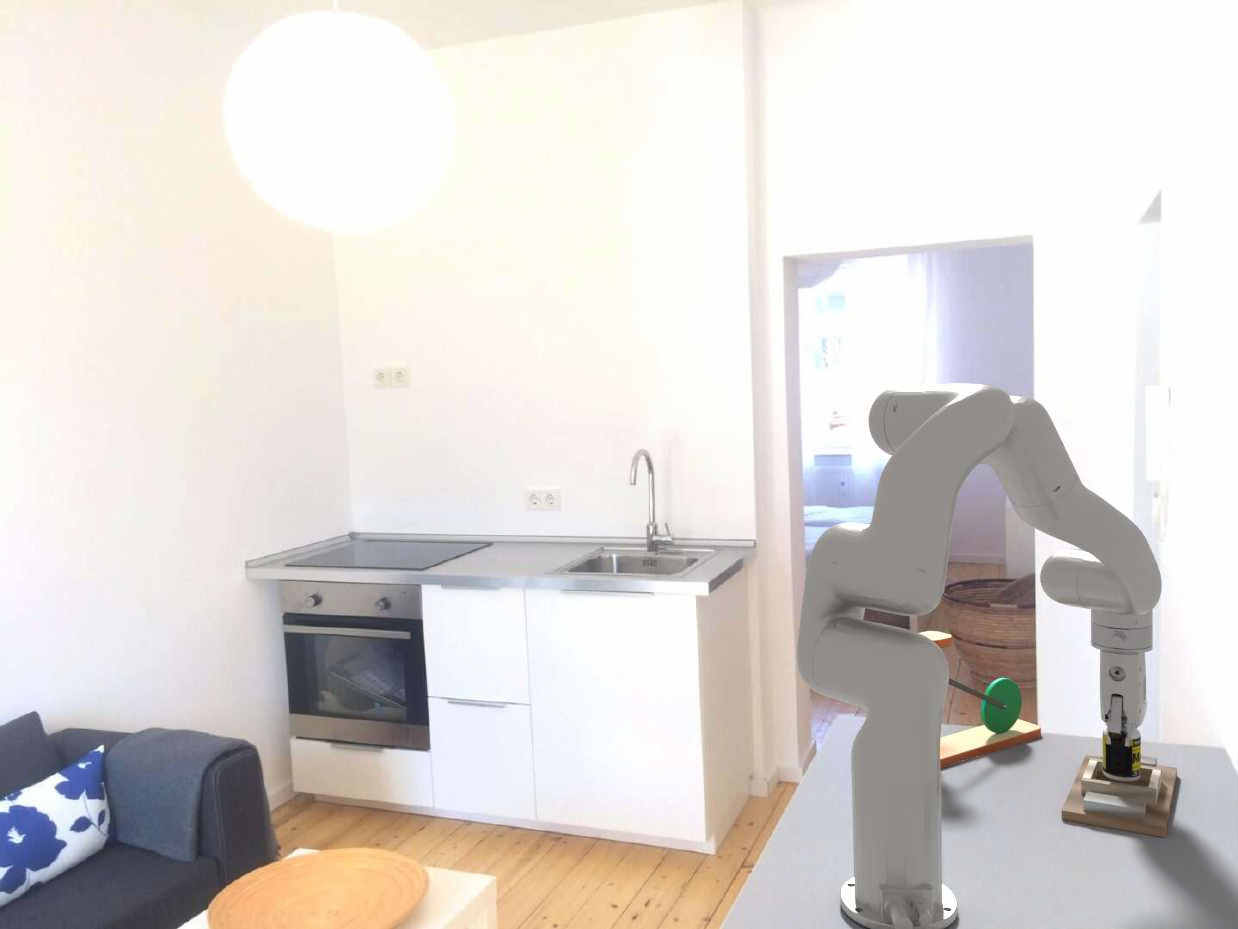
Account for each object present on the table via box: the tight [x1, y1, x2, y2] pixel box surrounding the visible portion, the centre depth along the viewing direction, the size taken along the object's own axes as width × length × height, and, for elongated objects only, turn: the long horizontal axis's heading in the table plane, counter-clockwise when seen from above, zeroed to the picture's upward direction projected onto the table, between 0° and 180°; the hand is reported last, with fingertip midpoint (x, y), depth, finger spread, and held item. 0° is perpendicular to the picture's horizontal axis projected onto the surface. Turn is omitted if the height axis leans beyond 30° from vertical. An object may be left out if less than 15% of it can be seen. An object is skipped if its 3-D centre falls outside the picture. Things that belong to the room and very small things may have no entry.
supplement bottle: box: [1102, 718, 1142, 781], centre depth 141 cm, size 5×5×8 cm
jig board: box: [1061, 751, 1178, 838], centre depth 142 cm, size 22×12×3 cm, turn 148°
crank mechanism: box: [918, 630, 1042, 768], centre depth 162 cm, size 25×7×19 cm, turn 120°
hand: (1121, 765), depth 141 cm, fingers closed on supplement bottle, 4 cm apart
